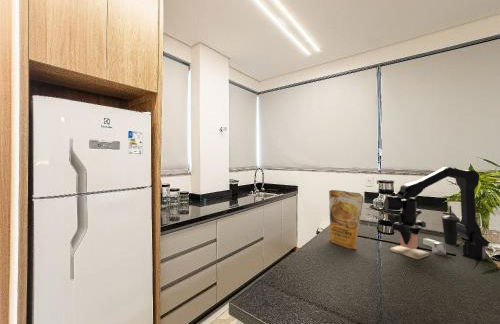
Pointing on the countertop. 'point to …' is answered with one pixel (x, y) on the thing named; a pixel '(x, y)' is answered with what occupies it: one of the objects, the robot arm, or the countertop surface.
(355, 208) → the pancake mix bag
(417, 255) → the birch board
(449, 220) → the drinking cup
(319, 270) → the countertop surface
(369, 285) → the countertop surface
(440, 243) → the grey cylinder
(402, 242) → the terracotta block
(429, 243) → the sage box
